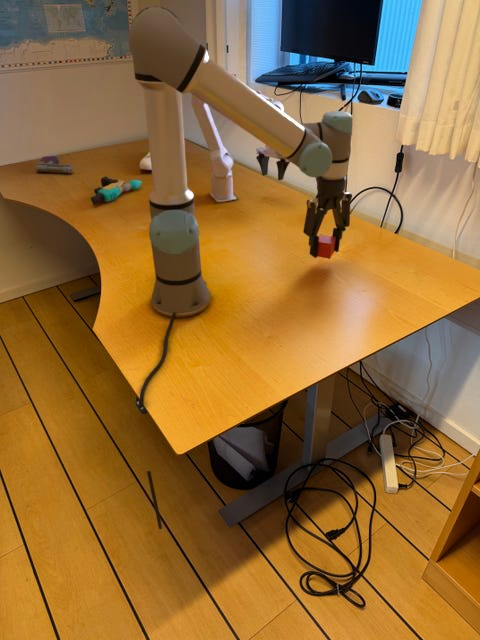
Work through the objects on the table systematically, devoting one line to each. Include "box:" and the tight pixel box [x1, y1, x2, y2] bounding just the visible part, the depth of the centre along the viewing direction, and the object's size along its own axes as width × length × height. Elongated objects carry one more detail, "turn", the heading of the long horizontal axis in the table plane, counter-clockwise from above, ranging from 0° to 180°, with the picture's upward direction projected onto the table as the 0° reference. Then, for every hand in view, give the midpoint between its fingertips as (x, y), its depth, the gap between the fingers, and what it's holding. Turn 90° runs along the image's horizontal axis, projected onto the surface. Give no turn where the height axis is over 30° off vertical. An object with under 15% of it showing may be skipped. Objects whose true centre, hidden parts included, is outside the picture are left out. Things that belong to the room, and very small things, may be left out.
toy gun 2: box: [90, 176, 143, 206], centre depth 186 cm, size 4×26×15 cm
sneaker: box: [139, 150, 152, 171], centre depth 214 cm, size 10×29×12 cm, turn 163°
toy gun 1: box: [34, 155, 74, 174], centre depth 213 cm, size 4×19×15 cm
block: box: [317, 233, 336, 260], centre depth 138 cm, size 5×5×5 cm
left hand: (324, 252), depth 139 cm, fingers closed on block, 7 cm apart
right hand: (272, 177), depth 175 cm, fingers open, 7 cm apart
